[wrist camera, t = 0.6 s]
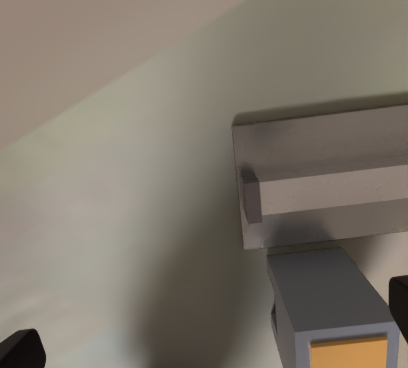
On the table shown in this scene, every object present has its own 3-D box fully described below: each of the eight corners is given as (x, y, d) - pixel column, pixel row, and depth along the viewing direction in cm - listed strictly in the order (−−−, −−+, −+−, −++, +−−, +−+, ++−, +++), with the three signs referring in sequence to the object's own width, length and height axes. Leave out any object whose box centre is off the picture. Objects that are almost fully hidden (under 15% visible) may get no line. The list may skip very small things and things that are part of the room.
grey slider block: (340, 320, 24) (396, 417, 18) (271, 327, 25) (300, 427, 18) (341, 247, 23) (403, 324, 16) (266, 256, 23) (296, 336, 16)
